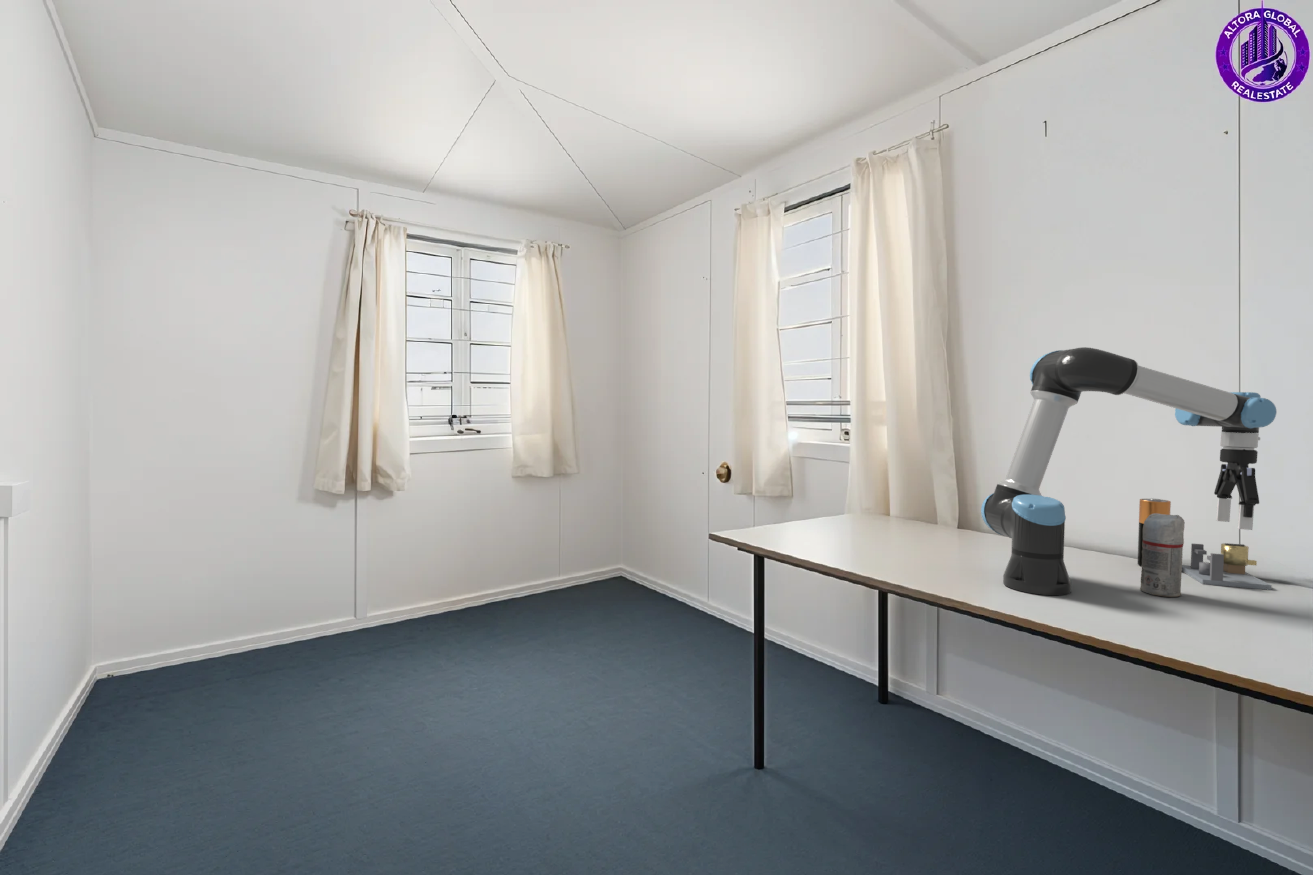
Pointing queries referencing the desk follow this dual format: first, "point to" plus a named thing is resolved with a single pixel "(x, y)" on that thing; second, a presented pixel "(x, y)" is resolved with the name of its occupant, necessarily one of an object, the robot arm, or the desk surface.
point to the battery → (1145, 510)
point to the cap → (1236, 554)
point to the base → (1219, 571)
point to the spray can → (1162, 555)
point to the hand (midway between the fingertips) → (1233, 525)
